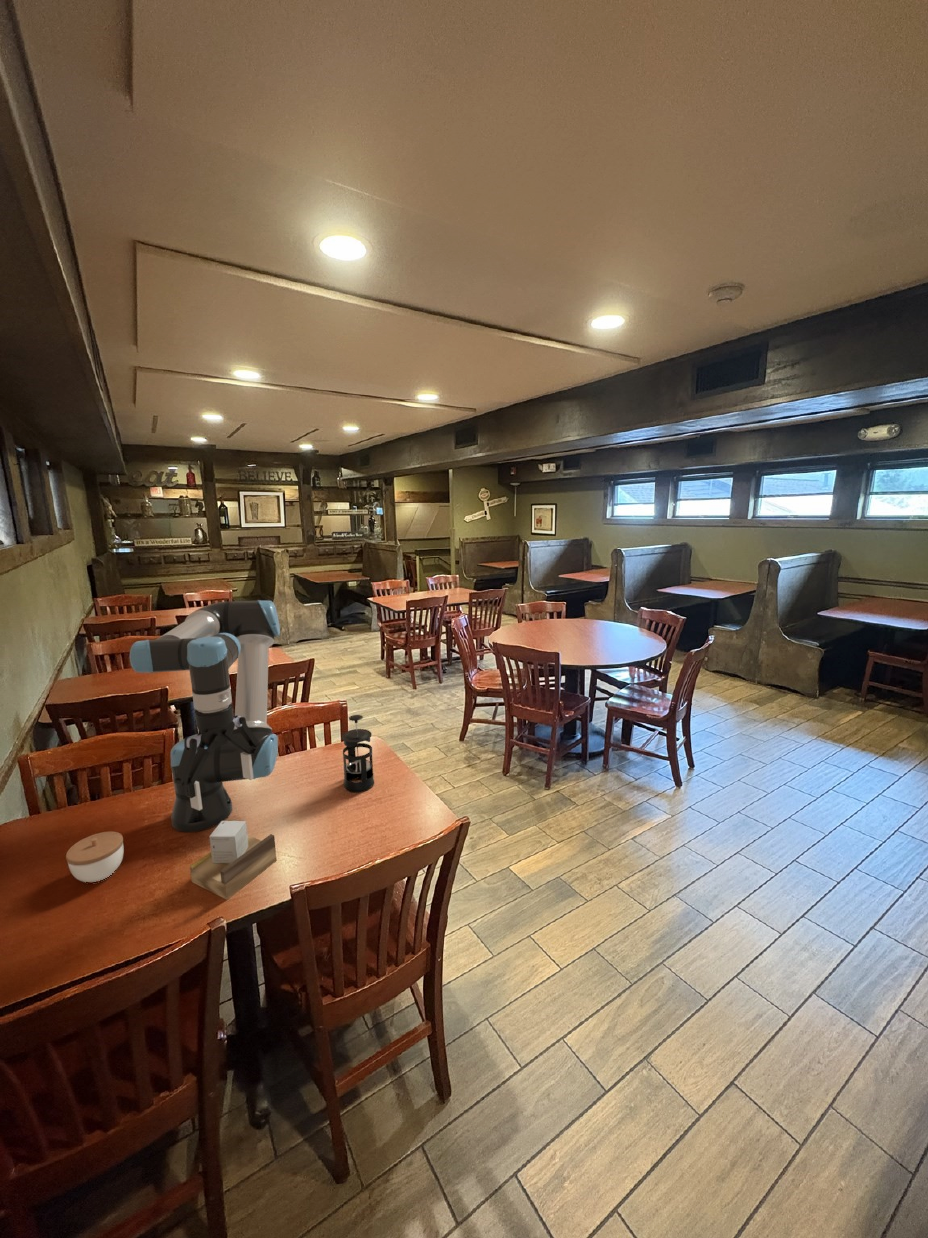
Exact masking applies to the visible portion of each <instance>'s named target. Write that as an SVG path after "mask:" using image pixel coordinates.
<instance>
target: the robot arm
mask: <svg viewBox="0 0 928 1238" xmlns="http://www.w3.org/2000/svg"><path fill="white" fill-rule="evenodd" d="M277 611H278V610H277V608H276V606H275V602H273V601H272V600H260V599H257V600H239V601H220V602H215V603H211V604H208V605H205V606H202V607H200V608H198V609H196V610H194V611H193V612H190V613H189V614H188V615H187V616H186V618H185V619H184V621H183V622H182V623H180V624H178V625H177V626H175V627H174V628H172V629H171V630H169V631H167V632H166V633H164V634H162V635H161V636H159V637H158V638H156V639H145V640H138V641H135V642H134V643H132V645H131V647H130V650H129V662H130V666H131V668H132V670H133V671H134V672H135V673H138V674H146V673H148V674H154V673H156V674H157V673H168V672H178V671H183V672H184V671H189V677H190V684H191V692H192V700H193V709H194V710H195V711H194V715H195V717H194V718H195V724H196V727H197V729H198V733H196V734H193V735H191V736H186V737H185V738H184V739H181V740H180V741H178V742H177V743H175V744H174V746H172V748H171V750H170V767H171V773H172V780H173V785H174V786H173V787H174V794H175V799H174V804H173V809H172V812H171V817H170V818H171V819H170V820H171V825H172V827H173V829H174V830H177V831H178V832H182V833H194V832H195V833H196V832H201V831H205V830H208V829H211V828H213V827H216V826H218V825H219V824H220V823H221V821H226V819H228V817H229V816H230V815H231V814H232V811H233V803H232V799H231V797H230V796H229V794H228V791H227V790H226V788H225V787H224V784H223V782H225V783H226V782H234V781H243V780H250V781H252V780H257V779H260V778H261V779H262V778H266V777H268V776H270V775H271V774H272V773H273V772H274V769H275V765H276V764H277V763H276V762H277V757H278V750H279V749H278V747H279V739H278V736H277V734H275V733H273V728H272V727H271V726H270V725H269V724H268V723H267V722H268V721H267V720H268V719H267V718H268V717H267V716H268V690H269V689H268V687H269V685H268V684H269V682H268V681H269V680H268V679H269V652H270V647H271V646H273V645H274V644H275V638H277V637H280V636H281V635H280V634H281V633H280V632H281V629H280V628H281V627H280V621H279V616H278V615H279V614H278V612H277ZM236 661H237V669H236V671H237V672H236V688H235V689H236V691H235V709H233V706H234V705H232V703H233V701H232V700H233V699H232V691H231V690H232V689H231V683H230V671H229V670H230V668H231V666H232V665H233V664H234V663H235V662H236Z"/></svg>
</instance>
